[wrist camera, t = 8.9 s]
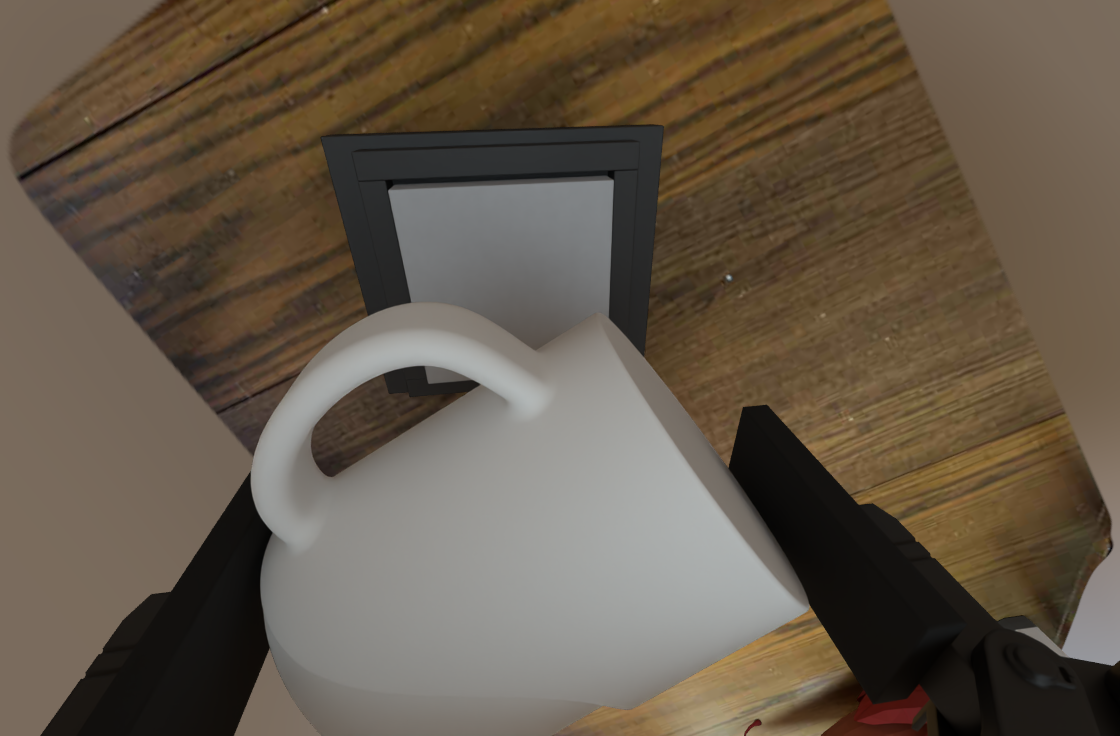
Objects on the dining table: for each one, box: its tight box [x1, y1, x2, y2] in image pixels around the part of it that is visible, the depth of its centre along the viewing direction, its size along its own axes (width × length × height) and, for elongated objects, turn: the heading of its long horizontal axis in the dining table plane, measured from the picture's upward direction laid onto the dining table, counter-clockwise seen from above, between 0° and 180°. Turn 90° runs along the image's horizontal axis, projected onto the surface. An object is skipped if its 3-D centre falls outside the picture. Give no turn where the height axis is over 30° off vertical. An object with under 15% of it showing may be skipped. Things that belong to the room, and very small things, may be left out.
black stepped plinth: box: [321, 124, 664, 397], centre depth 24 cm, size 16×14×3 cm
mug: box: [251, 302, 809, 736], centre depth 11 cm, size 12×9×8 cm
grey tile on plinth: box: [388, 176, 614, 384], centre depth 23 cm, size 10×10×2 cm
